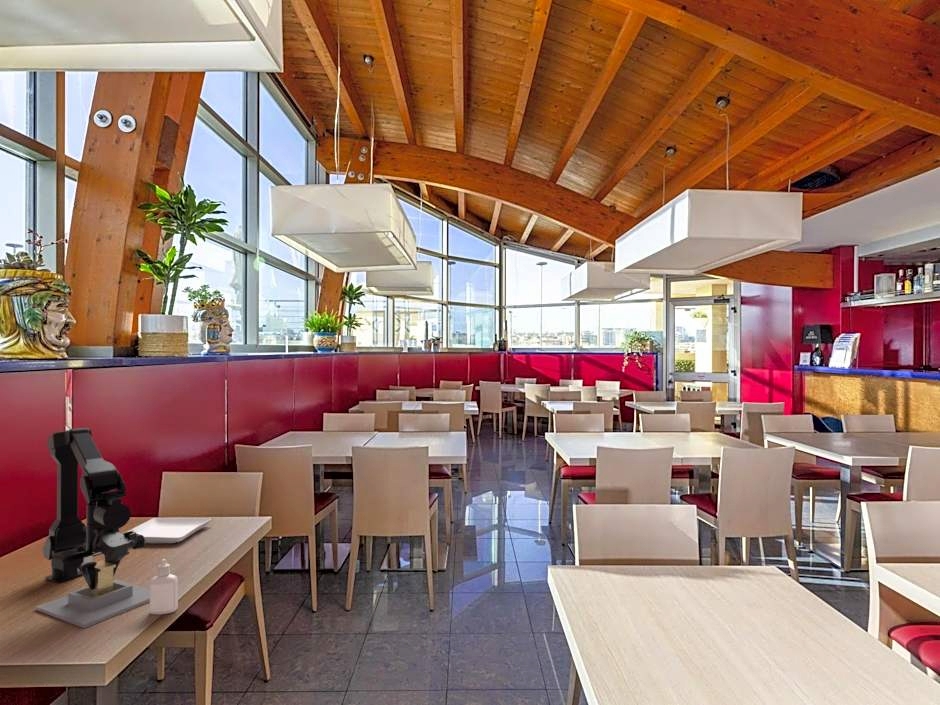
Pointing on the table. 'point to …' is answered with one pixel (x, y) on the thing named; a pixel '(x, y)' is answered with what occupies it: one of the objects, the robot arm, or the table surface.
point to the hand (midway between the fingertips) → (100, 586)
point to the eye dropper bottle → (163, 591)
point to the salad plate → (169, 529)
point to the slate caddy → (96, 604)
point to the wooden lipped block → (103, 578)
